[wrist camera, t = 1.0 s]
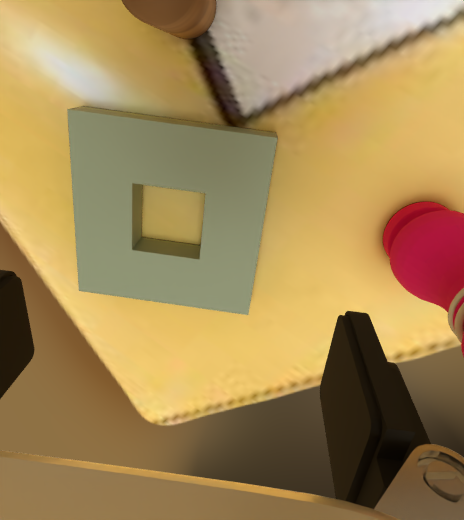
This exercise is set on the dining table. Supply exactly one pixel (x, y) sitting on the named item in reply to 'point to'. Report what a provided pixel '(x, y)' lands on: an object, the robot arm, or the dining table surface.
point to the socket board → (175, 177)
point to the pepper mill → (430, 257)
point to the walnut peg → (175, 15)
